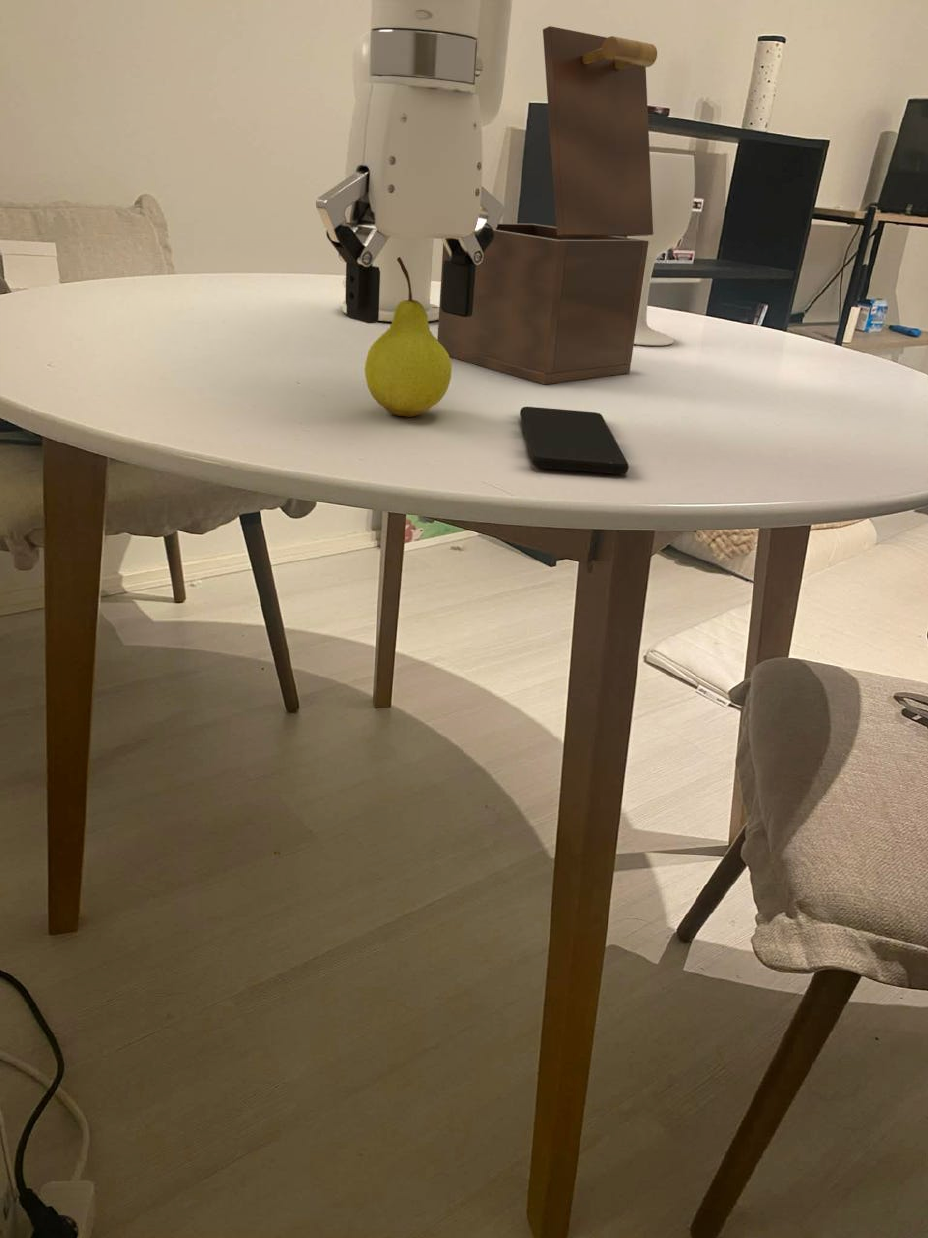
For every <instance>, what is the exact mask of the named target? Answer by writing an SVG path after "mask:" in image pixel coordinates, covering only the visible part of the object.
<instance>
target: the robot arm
mask: <svg viewBox="0 0 928 1238" xmlns="http://www.w3.org/2000/svg"><path fill="white" fill-rule="evenodd" d="M512 8H513V0H371V16H370V20H371V21H370V29H369V30H367V31H365V32H364V33H363V34H361V36H360V37H359V38H358V39H357V41H356V43H355V45H354V48H353V53H352V64H351V65H352V66H351V67H352V81H353V90H354V99H355V102H354V106H353V110H352V115H351V121H350V127H349V134H348V143H347V152H346V160H345V161H346V163H345V173H344V175H345V176H344V180H342V181H341V182H339V183H338V184H336V185H335V186H333V187H332V188H331V189H329V190H328V191H326V192H325V193H323V194H322V195H320V196H319V197H318V198H317V199H316V201H315V207H316V210H317V212H318V215H319V218H320V220H321V222H322V225H323V227H324V228H325V229H326V231H325V234H326V238H327V240H328V241H329V242H330V243H331V245H332V246H333V248H334V249H335V250H336V251H337V253H338V259H339V260H340V261H341V262H343V263H345V277H344V279H343V281H342V284H343V285H342V286H343V287H344V288H345V300H344V301H342V305H341V307H342V308H341V311H342V312H343V313H344V314H346V316H347V318H349V319H352V320H355V321H358V322H362V323H366V324H376V323H377V322H390V323H392V321H393V318H394V313H395V310H396V307H397V306H398V304H399V303H400V302H401V301H404V300H408V299H409V289H408V282H407V279H406V277H405V275H404V273H403V271H402V268H401V266H400V264H399V262H398V261H397V259H398V257H400V258H401V260H402V262H403V264H404V266H405V268H406V270H407V272H408V275H409V279H410V285H411V292H412V300H416V301H418V302H420V303H421V304H422V305H423V307H424V309H425V311H426V313H427V318H428V322H434V321H437V320H438V321H439V305H435V304H433V303H431V291H432V276H433V275H432V273H433V256H434V239H441V241H442V244H443V243H444V245H445V247H446V249H447V251H448V253H449V255H450V257H451V260H445V261H444V265H443V280H442V297H441V309H442V311H443V312H445V313H449V314H453V315H457V316H461V317H471V316H472V311H473V298H474V284H475V271H476V265H479V264H481V262H482V261H483V257H484V254H483V253H484V252H485V250H486V249H487V248H488V246H489V245H490V244H491V242H492V241H493V239H494V231H495V230H496V228H497V226H498V224H499V223H500V222H501V219H502V217H503V214H504V211H505V209H504V205H503V204H502V203H501V202H500V201H499V200H497V198H496V197H495V196H493V195H492V194H491V193H490V192H489V190H487V189H486V188H485V187H484V186H483V133H482V132H483V130H482V129H483V128H482V127H486V126H488V125H489V124H492V122H494V120H495V119H496V118H497V115H498V113H499V111H500V109H501V104H502V99H503V93H504V85H505V78H506V77H505V75H506V67H507V58H508V57H507V56H508V49H509V47H508V46H509V39H510V38H509V37H510V27H511V18H512V17H511V15H512Z"/></svg>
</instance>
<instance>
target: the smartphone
mask: <svg viewBox="0 0 928 1238" xmlns="http://www.w3.org/2000/svg"><path fill="white" fill-rule="evenodd" d="M519 411H520V412H519V415H520V419H521V423H522V427H523V428H522V429H523V432H524V436H525V441H526V444H527V449H528V453H529V457H530V462H531V464H532V466H534V467H535V468H539V469H552V470H563V471H564V470H565V471H573V472H574V471H575V472H587V473H601V474H602V473H603V474H614V475H624V474H626V473H627V472H628V471H629V468H630V466H629V463H628V460H627V459H626V457H625V455H624V453H623V452H622V449H621V447H620V446H619V444H618V442H617V441H616V438H615V437H614V434H613V432H612V431H611V429H610V427H609V425H608V423H607V421H606V420H605V418H604V416H603V415H602V413H600V412H595V411H585V410H584V411H583V410H571V409H561V408H549V407H548V408H547V407H538V406H537V407H535V406H522V407H521V409H520V410H519Z"/></svg>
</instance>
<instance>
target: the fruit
mask: <svg viewBox="0 0 928 1238" xmlns="http://www.w3.org/2000/svg"><path fill="white" fill-rule="evenodd" d="M397 261H398V262H399V264H400V266H401V268H402V271H403V273H404V275H405V277H406V279H407V282H408V289H409V299H408V300H404V301H401V302H400V303H399V304H398V306H397V307H396V310H395V313H394V318H393V321H392V322H391V324H390V326H389V328H387V330H386V331H384V332H383V333H382V334H381V335H380V336H379V337H378V338H377V339H376V340H375V341H374V342H373V343H372V344H371V346H370V347H369V350H368V353H367V356H366V359H365V365H364V366H365V367H364V373H365V374H364V376H365V381H366V384H367V389H368V390H369V392H370V395H371V396H372V398H373V399H374V400H375V401H376V402H377V404H378V405H380V407H382V408H383V409H384V410H385V411H387V412H388V413H390V414H392V415H394V416H397V417H406V418H413V417H416V416H419V415H421V414H422V413H424V412H426V411H427V410H429V409H431V408H433V407H434V406H435V405H437V404H438V403H439V402H440V401H441V400H442V398H443V397H444V396H445V395H446V393H447V390H448V389H449V387H450V383H451V379H452V360H451V357H449V354H448V353H447V351H446V350H445V348H444V347H443V346H442V345H441V344H440V343H439V342H438V340H437V338H436V337H435V336H434V335H433V333H432V332H431V328H430V326H429V325H430V324H429V321H428V318H427V313H426V311H425V309H424V307H423V305H422V304H421V303H420V302H418V301H416V300H412V292H411V285H410V279H409V275H408V272H407V270H406V268H405V266H404V264H403V262H402V260H401V258H400V257H398V259H397Z"/></svg>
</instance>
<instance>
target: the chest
mask: <svg viewBox="0 0 928 1238" xmlns="http://www.w3.org/2000/svg"><path fill="white" fill-rule="evenodd" d="M648 243H649V241H646V240H640V239H633V238H627V236H557V228H556V226H553V225H546V224H540V223H539V224H538V223H521V222H519V223H517V222H516V223H513V222H511V223H510V222H509V223H507V222H499V224H498V226H497V228H496V230H495V231H494V239H493V241H492V242H491V244H490V245H489V246H488V248H487V249H486V250H485V252H484V253H483V254H484V257H483V261H482V262H481V264H479V265H476V271H475V284H474V298H473V311H472V316H471V317H461V316H457V315H453V314H449V313H445V312H443V311H442V309H441V297H442V280H443V265H444V261H445V260H451V257H450V255H449V253H448V251H447V249H446V247H445V245H444V243H443V242H442V255H441V271H440V272H441V273H440V286H439V287H440V289H439V303H438V304H439V305H438V307H439V319H438V322H437V338H436V339H437V340H438V342H439V343H440V344H441V345H442V346H443V347H444V348H445V350H446V351H447V353H448V354H449V357H450V358H453V359H456V360H460V361H463V362H466V363H470V364H474V365H476V366H479V367H483V368H487V369H490V370H493V371H496V372H500V373H503V374H507V375H511V376H514V377H517V378H521V379H524V380H526V381H527V380H528V381H530V382H535V383H537V384H541V385H550V384H551V385H552V384H558V383H565V382H573V381H574V382H575V381H580V380H588V379H594V378H595V379H596V378H603V377H610V376H617V375H618V376H619V375H625V374H630V372H631V364H632V358H633V352H634V346H635V344H634V339H635V332H636V325H637V318H638V312H639V305H640V298H641V291H642V284H643V277H644V270H645V264H646V257H647V250H648Z"/></svg>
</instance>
